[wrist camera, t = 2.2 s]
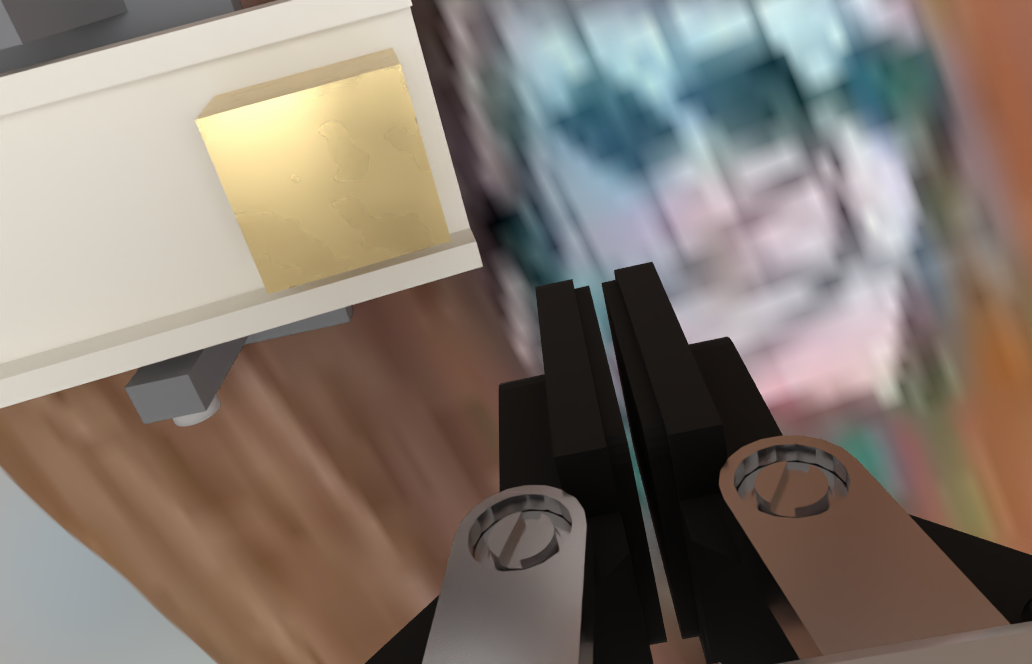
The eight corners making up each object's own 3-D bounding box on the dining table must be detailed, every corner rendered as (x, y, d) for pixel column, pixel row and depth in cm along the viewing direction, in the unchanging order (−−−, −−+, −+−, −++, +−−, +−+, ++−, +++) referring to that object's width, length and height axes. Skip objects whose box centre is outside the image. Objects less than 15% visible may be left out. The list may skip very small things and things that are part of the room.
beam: (390, -35, 30) (402, -30, 24) (458, 212, 35) (482, 266, 29) (-267, 138, 28) (-422, 188, 22) (-102, 374, 33) (-195, 465, 27)
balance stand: (203, -99, 29) (100, -99, 21) (353, 311, 37) (317, 417, 29) (-51, -31, 30) (-236, -7, 22) (149, 356, 38) (63, 469, 30)
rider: (392, 47, 26) (400, 63, 23) (437, 204, 29) (451, 240, 26) (214, 95, 26) (194, 119, 22) (276, 250, 29) (267, 294, 25)
